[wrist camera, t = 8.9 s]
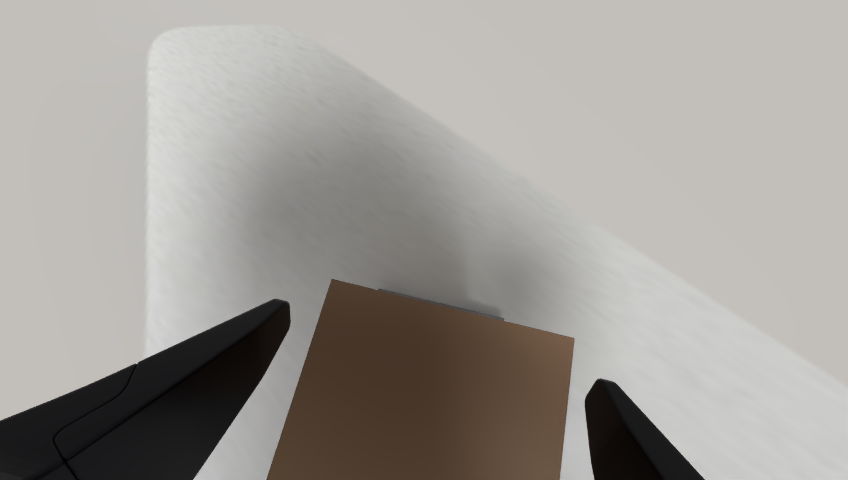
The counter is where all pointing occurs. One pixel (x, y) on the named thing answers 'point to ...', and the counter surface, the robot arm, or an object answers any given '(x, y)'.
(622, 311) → the counter surface
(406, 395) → the walnut block
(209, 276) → the counter surface
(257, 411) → the counter surface
